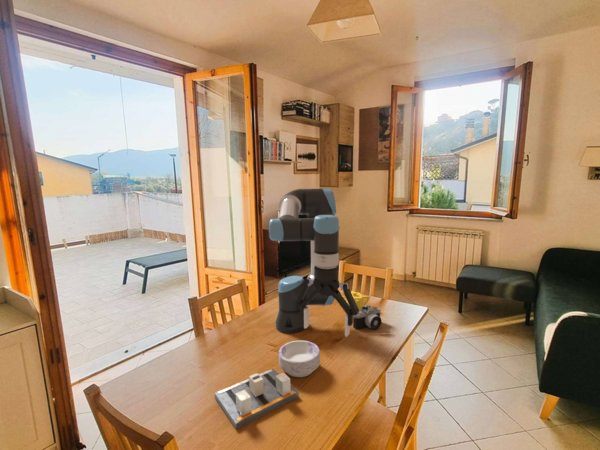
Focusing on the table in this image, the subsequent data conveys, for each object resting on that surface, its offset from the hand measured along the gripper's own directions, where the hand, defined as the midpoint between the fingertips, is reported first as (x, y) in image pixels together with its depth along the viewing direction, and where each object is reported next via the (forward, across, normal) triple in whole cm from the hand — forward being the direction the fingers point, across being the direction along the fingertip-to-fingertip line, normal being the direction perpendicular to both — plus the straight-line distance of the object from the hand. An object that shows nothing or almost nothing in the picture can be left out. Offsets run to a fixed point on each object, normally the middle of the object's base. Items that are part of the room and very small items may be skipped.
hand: (326, 330), depth 101 cm
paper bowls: (+23, -14, +9) cm, 28 cm away
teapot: (+22, -8, +66) cm, 70 cm away
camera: (+22, +2, +52) cm, 57 cm away
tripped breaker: (+20, -20, -10) cm, 30 cm away
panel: (+22, -20, -10) cm, 32 cm away
